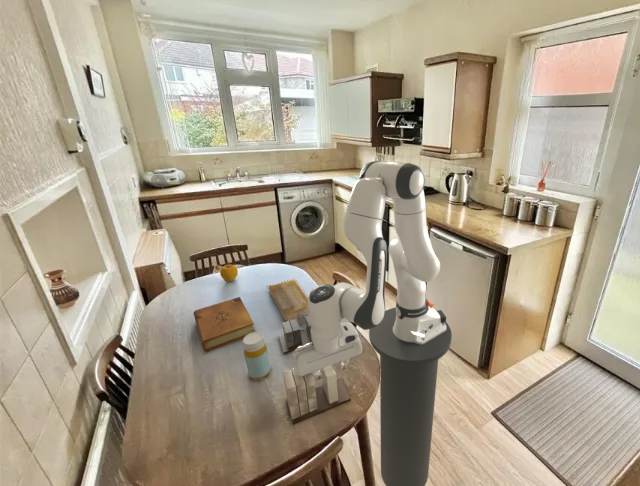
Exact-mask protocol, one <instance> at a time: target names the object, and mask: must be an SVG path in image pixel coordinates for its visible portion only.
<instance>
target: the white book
mask: <svg viewBox="0 0 640 486" xmlns="http://www.w3.org/2000/svg"><path fill="white" fill-rule="evenodd" d="M320 374H321V382H322V385H323V389H324V391H325V394H326V396H327V399H328V401H329V404H331V403H333V402H336V401H338V392H337V372H336V370H335V368H334V367H333V365H330V366H328V367H325V368H322V369H320Z"/></svg>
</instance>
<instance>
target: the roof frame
mask: <svg viewBox="0 0 640 486" xmlns="http://www.w3.org/2000/svg"><path fill="white" fill-rule="evenodd" d="M267 289H268V292H269V295H270V296H271V297H272V299H273V301H274V303H275V305H276V306H277V308H278V310H279V312H280V314H281V315H282V317H283V319H284V322H287V321H289V322H290V321H291V320H294V319H296V320H297V322H298V325H299V326H301V325H303V324H306V323H305V316H308V297H309V294H308V293H306V292H305V290H304V288H302V287H301V285H300V283H299V282H298V280H297V279H295V277H294V278H291V279H289V280H286V281H285V280H283V281H280V283H279V282H278V283H274V284H269V285H267ZM304 314H305V315H304ZM300 315H302V316H300ZM297 316H298V318H297Z"/></svg>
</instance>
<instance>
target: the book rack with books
mask: <svg viewBox="0 0 640 486" xmlns="http://www.w3.org/2000/svg"><path fill="white" fill-rule="evenodd" d="M282 378H283V384H284V390H285V395H286V396H285V397H286V404H287V407H288V411H289V415H290V416H289V417H290V420H291V423H292V425H293V426H294V425H296V424H298V423H301V422H303V421H306V420H308V419H310V418H314V417H315V416H318V415H320V414H322V413H325V412H327V411H329V410H332V409H335V408H337V407H339V406H341V405H344V404H347V403H349V402H351V401H352V399H351V396H350V394H349V392H348V390H347V387H346V385H345V383H344V381H343V379H342V378H341V377H340V378H336V380H337V392H338V401H336V402H333V403H331V404H329V401H328V399H327V396H326V394H325V391H324V389H323V384H322V385H319V386H316V384H315V378H314V375H313V374H312V373H309V374H307V375H304V376H299V375H297V372H296V369H295V367H293V368H289V369H286V370H285V371H282Z"/></svg>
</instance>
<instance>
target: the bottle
mask: <svg viewBox="0 0 640 486" xmlns="http://www.w3.org/2000/svg"><path fill="white" fill-rule="evenodd" d="M242 343H243V347H244V348H243V349H244V350H243V354H244V360H245V363H246V368H247V372H248V376H249V378H251V379H252V380H261V379H264V378H265V377H267V376H268V375H269V373H270V372H271V363H270V359H269V352H268V349H267V347H268V346H267V344H266V343H265V340H264V334H263V333H261V332H259V331H255V332H253V333H250V334H248V335H246V336H245V337H244V339H242Z"/></svg>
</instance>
